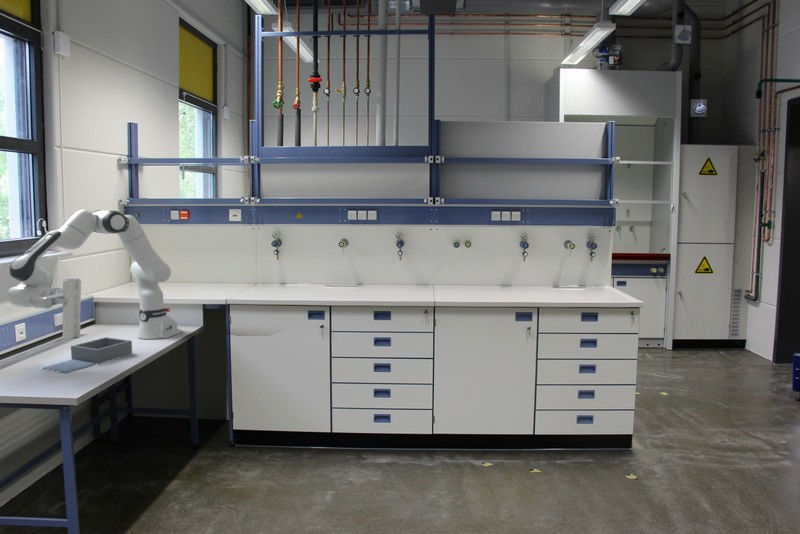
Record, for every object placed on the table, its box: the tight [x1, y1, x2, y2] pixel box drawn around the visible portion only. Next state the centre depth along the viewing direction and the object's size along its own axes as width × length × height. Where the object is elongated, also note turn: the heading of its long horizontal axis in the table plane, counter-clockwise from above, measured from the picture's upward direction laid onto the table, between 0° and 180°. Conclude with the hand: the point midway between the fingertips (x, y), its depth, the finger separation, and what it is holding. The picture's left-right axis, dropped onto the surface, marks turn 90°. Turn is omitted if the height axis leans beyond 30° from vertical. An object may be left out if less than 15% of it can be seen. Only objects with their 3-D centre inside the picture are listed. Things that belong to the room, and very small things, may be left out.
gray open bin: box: [70, 336, 133, 365], centre depth 264 cm, size 18×16×6 cm
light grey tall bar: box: [62, 277, 82, 340], centre depth 248 cm, size 6×6×25 cm
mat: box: [42, 358, 97, 374], centre depth 248 cm, size 14×14×1 cm
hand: (73, 299), depth 248 cm, fingers closed on light grey tall bar, 5 cm apart
